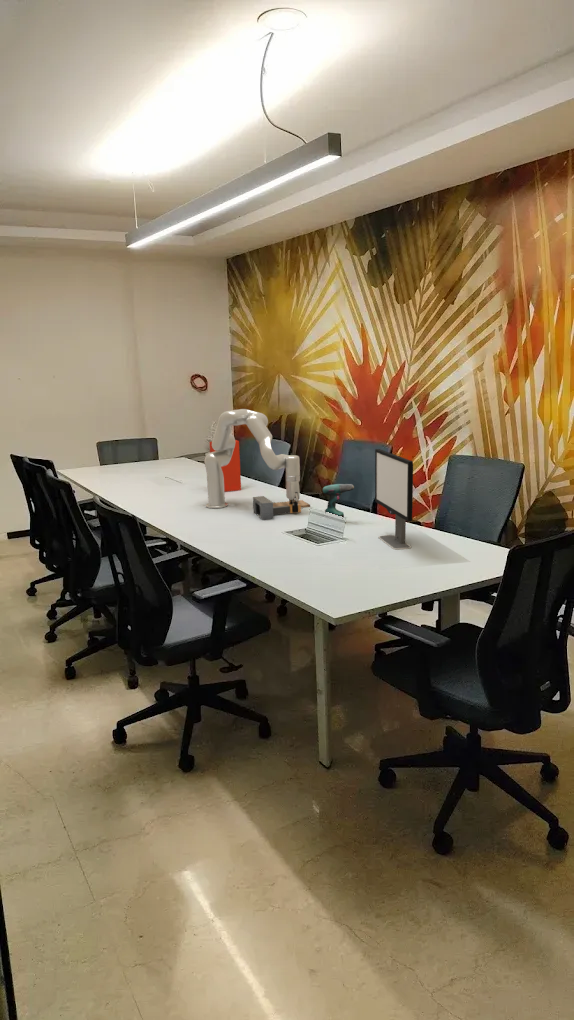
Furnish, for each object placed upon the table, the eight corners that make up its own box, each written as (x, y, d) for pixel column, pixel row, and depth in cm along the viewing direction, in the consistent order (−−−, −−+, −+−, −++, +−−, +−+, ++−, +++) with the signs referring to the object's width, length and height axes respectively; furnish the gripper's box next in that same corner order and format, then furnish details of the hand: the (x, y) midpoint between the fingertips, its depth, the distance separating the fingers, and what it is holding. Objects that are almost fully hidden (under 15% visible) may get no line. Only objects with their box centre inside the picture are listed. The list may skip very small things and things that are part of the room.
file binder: (212, 490, 424) (209, 441, 416) (237, 488, 430) (235, 439, 422) (215, 493, 416) (212, 443, 409) (241, 490, 422) (239, 441, 415)
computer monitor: (370, 532, 313) (370, 449, 304) (387, 530, 315) (387, 448, 306) (402, 556, 274) (403, 462, 265) (421, 554, 276) (423, 460, 267)
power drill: (352, 524, 328) (352, 485, 324) (321, 522, 334) (320, 484, 329) (355, 521, 335) (355, 482, 330) (325, 519, 340) (324, 481, 336)
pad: (266, 511, 362) (266, 509, 362) (259, 506, 375) (259, 504, 375) (310, 506, 370) (310, 504, 370) (302, 502, 383) (302, 500, 383)
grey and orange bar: (262, 516, 349) (261, 508, 348) (259, 514, 353) (259, 507, 352) (303, 512, 356) (302, 504, 355) (300, 510, 360) (300, 503, 359)
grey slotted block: (262, 520, 342) (261, 503, 340) (253, 513, 359) (252, 497, 357) (273, 519, 344) (272, 502, 342) (264, 511, 361) (263, 496, 359)
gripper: (281, 476, 359) (282, 508, 363) (291, 481, 344) (292, 515, 348) (294, 475, 361) (295, 507, 365) (304, 480, 346) (305, 513, 350)
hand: (293, 510), depth 357 cm, fingers closed on grey and orange bar, 4 cm apart
